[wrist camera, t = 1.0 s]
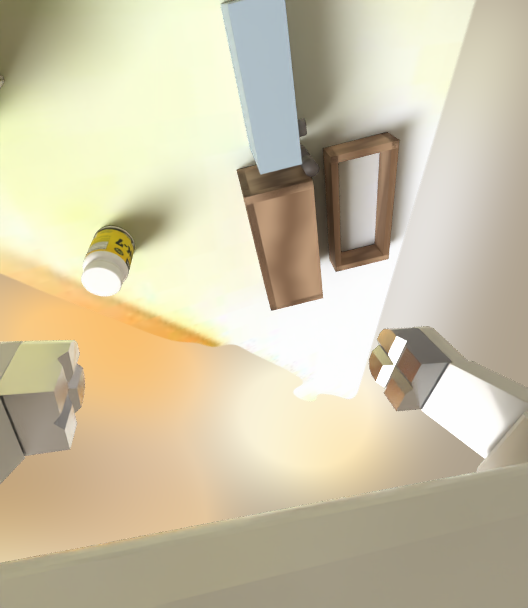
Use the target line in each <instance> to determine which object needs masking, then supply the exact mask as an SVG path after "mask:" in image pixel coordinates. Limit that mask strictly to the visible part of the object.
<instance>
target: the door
mask: <svg viewBox="0 0 528 608" xmlns="http://www.w3.org/2000/svg"><path fill="white" fill-rule="evenodd" d="M221 9H222V14H223V19H224V24H225V29H226V34H227V38H228V43H229V48H230V53H231V58H232V63H233V68H234V73H235V78H236V82H237V87H238V92H239V97H240V102H241V107H242V112H243V117H244V121H245V126H246V131H247V136H248V141H249V146H250V149H251V152H252V154H253V157H254V159H255V162H256V164H257V167H258V170H259V172H260V175H261V174H265V173H269V172H273V171H277V170H281V169H285V168H289V167H293V166H297V165H301V164H302V159H301V149H300V139H299V137H301V136H305V135H306V134H307V129H306V123H305V120H304V119H299V120H297V110H296V101H295V91H294V81H293V72H292V62H291V53H290V43H289V33H288V24H287V14H286V4H285V0H235V1H231V2H227V3H223V4H221Z"/></svg>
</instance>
